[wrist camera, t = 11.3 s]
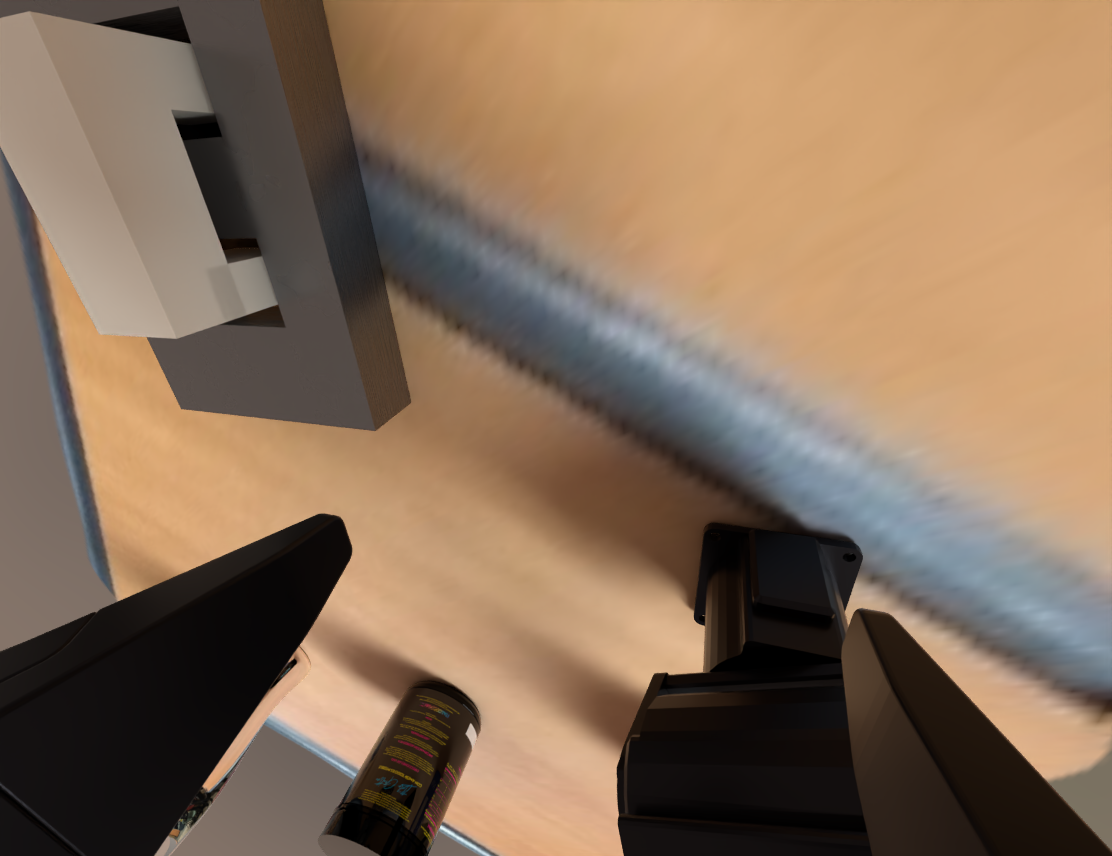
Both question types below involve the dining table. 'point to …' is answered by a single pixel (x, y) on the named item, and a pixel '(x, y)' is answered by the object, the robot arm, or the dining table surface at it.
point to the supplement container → (406, 777)
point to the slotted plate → (275, 215)
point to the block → (120, 175)
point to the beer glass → (237, 751)
